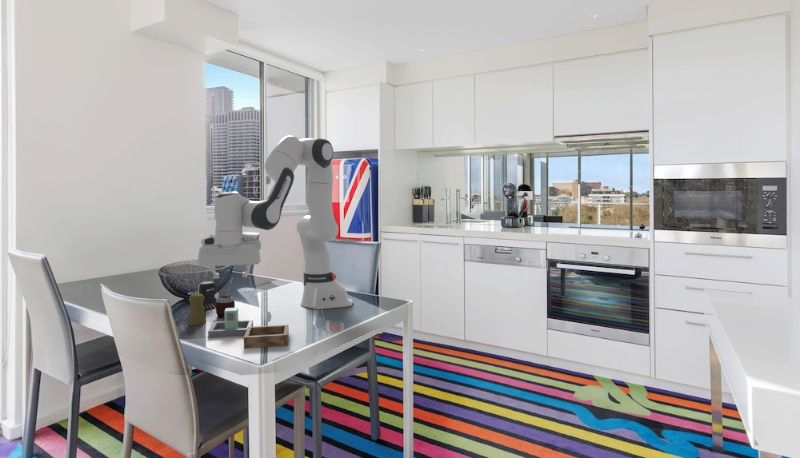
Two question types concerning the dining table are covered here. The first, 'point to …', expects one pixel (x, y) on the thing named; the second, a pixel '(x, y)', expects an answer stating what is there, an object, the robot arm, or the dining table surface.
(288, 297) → the dining table surface
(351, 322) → the dining table surface
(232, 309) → the plug
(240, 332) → the shallow grey tray
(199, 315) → the olive waisted shaker
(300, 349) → the dining table surface
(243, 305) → the dining table surface
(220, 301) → the mate gourd
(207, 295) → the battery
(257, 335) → the shallow wooden tray
